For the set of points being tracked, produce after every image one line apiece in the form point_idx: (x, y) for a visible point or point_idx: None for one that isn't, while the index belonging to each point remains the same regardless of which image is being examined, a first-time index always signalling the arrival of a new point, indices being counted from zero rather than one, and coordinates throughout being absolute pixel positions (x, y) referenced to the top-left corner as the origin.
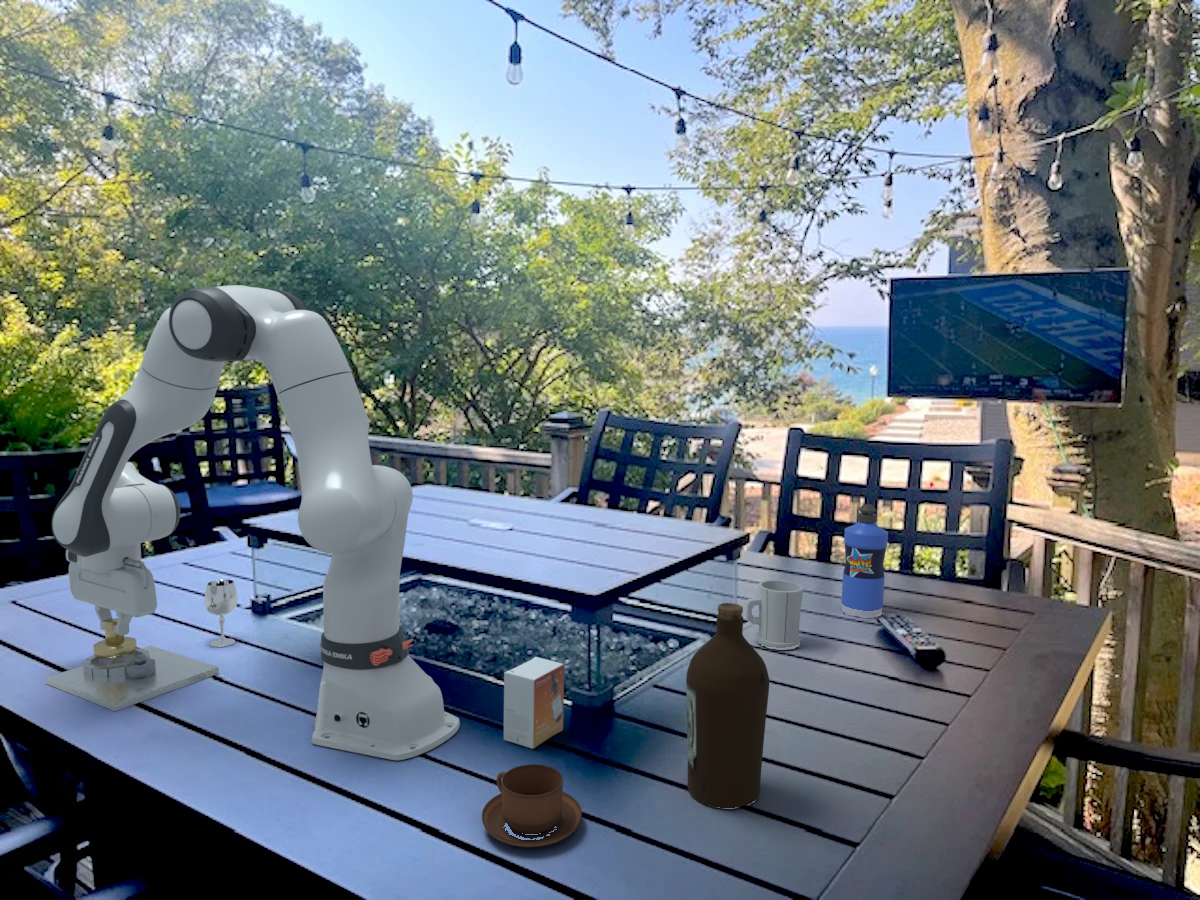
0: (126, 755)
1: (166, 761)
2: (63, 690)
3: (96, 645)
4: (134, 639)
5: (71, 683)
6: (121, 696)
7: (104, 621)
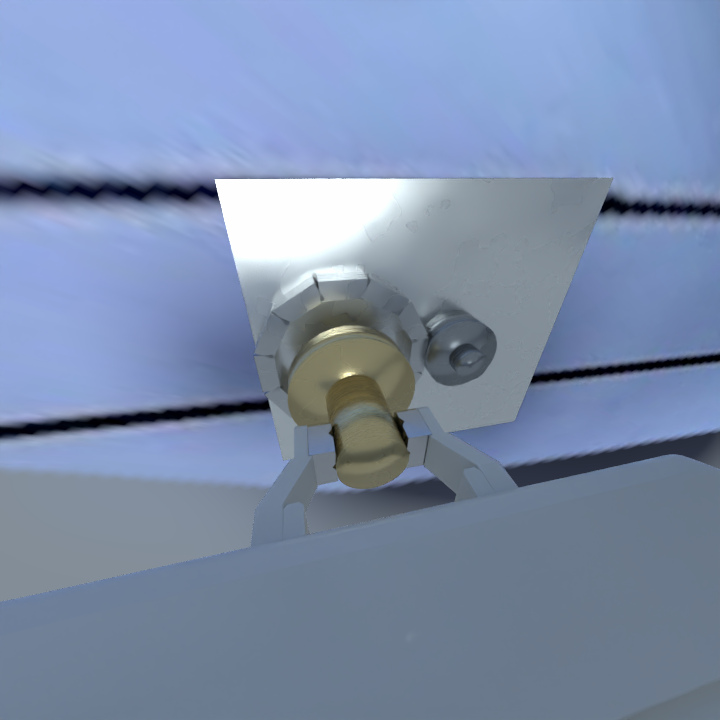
0: (606, 437)
1: (659, 417)
2: None
3: None
4: (374, 346)
5: None
6: (501, 405)
7: (330, 480)
